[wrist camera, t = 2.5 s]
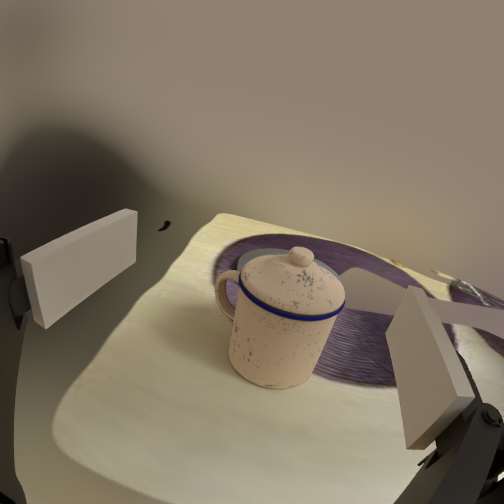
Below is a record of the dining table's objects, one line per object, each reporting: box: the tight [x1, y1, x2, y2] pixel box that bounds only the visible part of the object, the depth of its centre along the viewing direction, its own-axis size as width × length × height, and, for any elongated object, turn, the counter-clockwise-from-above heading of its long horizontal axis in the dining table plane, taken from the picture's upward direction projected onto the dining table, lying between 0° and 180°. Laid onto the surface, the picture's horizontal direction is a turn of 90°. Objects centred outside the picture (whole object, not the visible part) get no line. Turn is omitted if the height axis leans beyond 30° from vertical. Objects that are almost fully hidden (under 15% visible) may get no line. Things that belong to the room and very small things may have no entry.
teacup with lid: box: [215, 247, 345, 389], centre depth 25 cm, size 12×9×12 cm
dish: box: [236, 248, 343, 286], centre depth 43 cm, size 16×16×1 cm
